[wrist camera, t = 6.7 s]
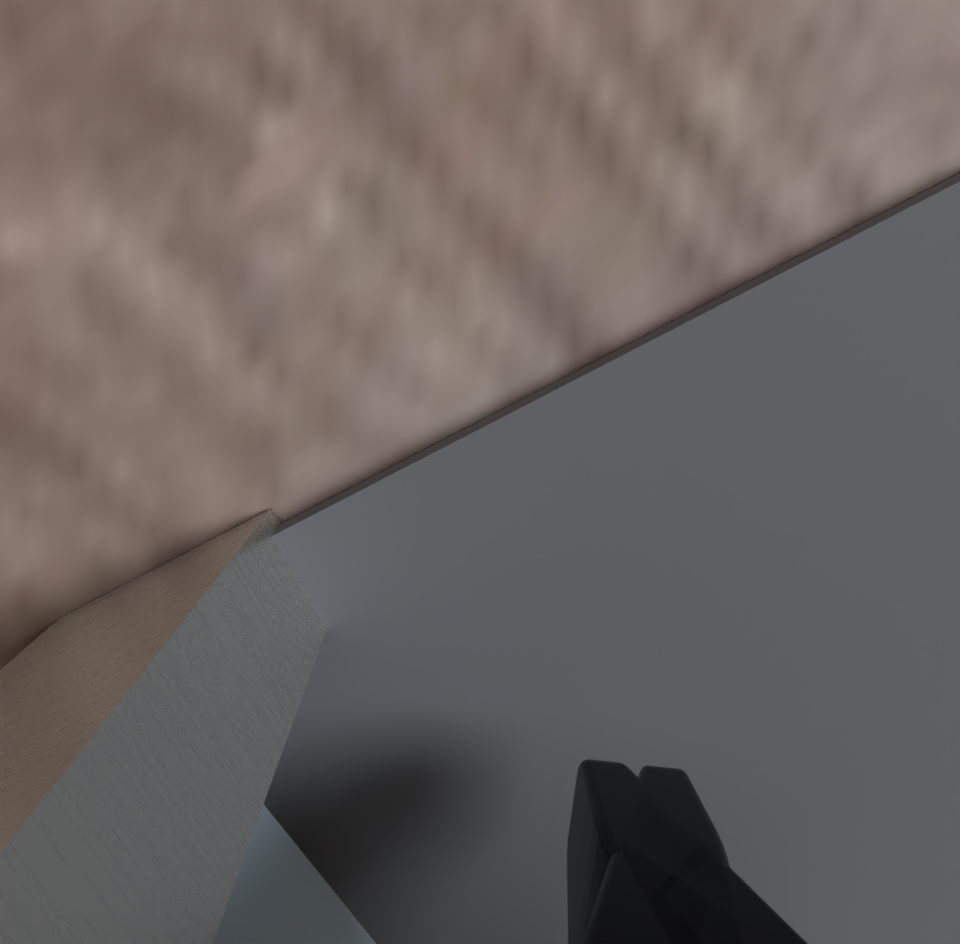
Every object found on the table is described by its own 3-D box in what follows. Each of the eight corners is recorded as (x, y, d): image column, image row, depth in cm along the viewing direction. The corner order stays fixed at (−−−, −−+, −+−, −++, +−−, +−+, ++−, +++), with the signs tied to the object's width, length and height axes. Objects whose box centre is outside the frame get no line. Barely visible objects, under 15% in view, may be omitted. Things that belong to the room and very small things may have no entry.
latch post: (357, 619, 10) (108, 1472, 3) (119, 739, 11) (-653, 1805, 3) (278, 484, 10) (-224, 1083, 3) (34, 611, 10) (-1055, 1483, 3)
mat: (1325, 1061, 12) (1363, 1093, 12) (529, 1395, 13) (532, 1439, 13) (992, 155, 9) (1021, 149, 9) (24, 655, 10) (2, 674, 10)
